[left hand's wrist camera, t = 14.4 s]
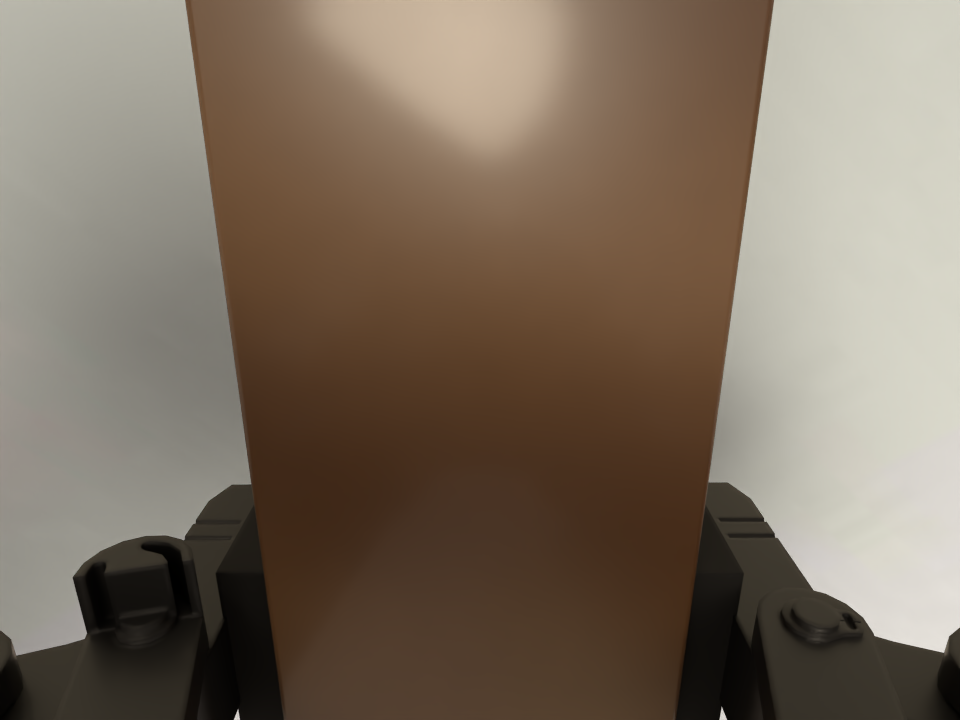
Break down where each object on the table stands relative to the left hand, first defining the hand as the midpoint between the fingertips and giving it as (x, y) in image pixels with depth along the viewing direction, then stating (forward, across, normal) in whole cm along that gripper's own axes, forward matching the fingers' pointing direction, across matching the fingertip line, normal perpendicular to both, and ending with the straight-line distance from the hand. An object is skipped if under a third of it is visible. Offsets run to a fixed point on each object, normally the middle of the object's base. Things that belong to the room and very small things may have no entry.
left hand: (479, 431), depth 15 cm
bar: (+1, 0, -28) cm, 28 cm away
